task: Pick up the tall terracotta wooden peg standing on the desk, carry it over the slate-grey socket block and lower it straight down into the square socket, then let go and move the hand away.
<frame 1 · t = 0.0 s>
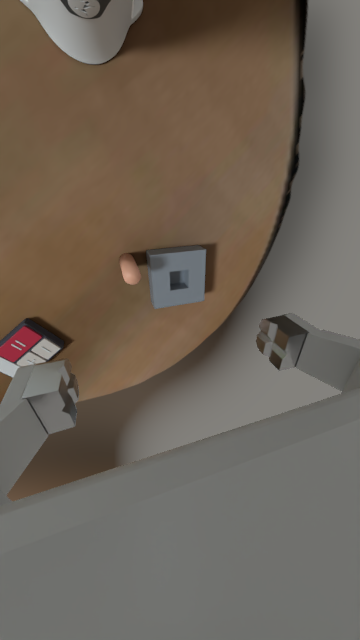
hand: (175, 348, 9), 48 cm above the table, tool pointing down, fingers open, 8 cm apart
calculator: (27, 346, 57), on the table
socket block: (174, 273, 59), on the table
peg: (126, 260, 53), on the table
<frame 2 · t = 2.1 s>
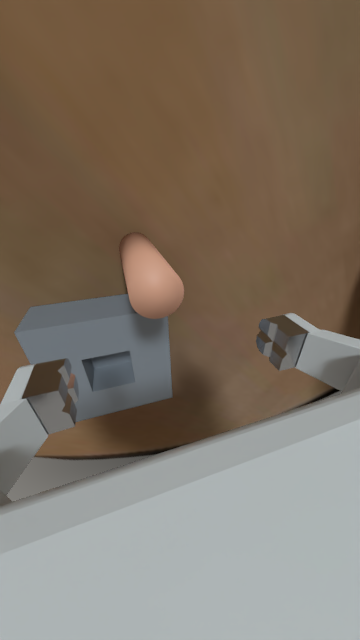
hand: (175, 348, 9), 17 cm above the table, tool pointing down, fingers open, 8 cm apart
socket block: (109, 345, 29), on the table
peg: (136, 249, 23), on the table
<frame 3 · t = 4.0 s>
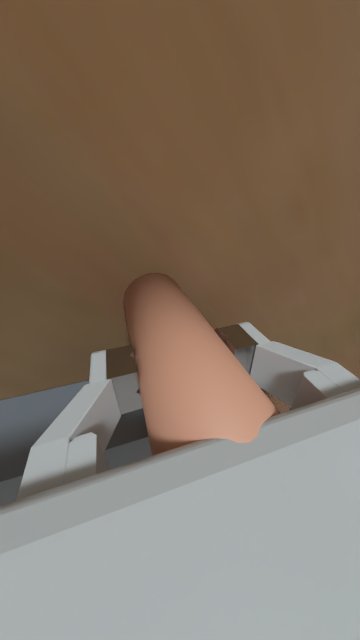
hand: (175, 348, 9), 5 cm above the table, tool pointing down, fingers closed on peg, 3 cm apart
socket block: (107, 440, 18), on the table
peg: (153, 301, 13), on the table, touching gripper
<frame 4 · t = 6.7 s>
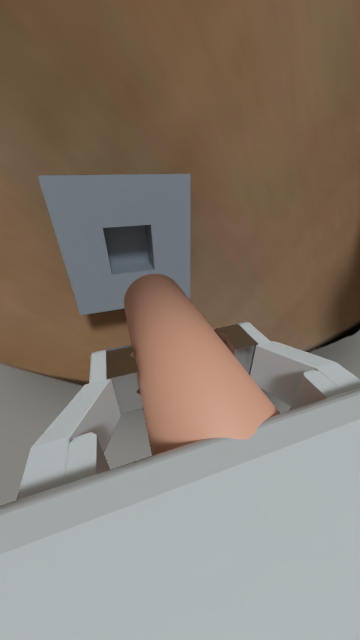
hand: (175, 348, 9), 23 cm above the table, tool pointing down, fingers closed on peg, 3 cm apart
socket block: (126, 241, 28), on the table
peg: (154, 302, 13), point 19 cm above the table, touching gripper
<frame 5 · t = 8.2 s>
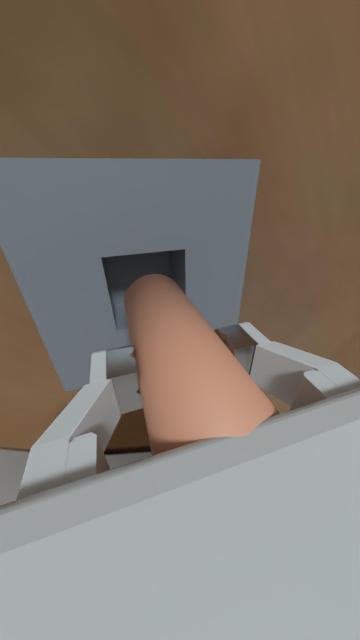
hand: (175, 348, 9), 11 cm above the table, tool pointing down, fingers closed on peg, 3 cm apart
socket block: (138, 268, 18), on the table
peg: (154, 302, 13), point 6 cm above the table, touching gripper
when the fingers open (7 cm above the table, at t = 9.4 s): peg stays where it is, resting on socket block.
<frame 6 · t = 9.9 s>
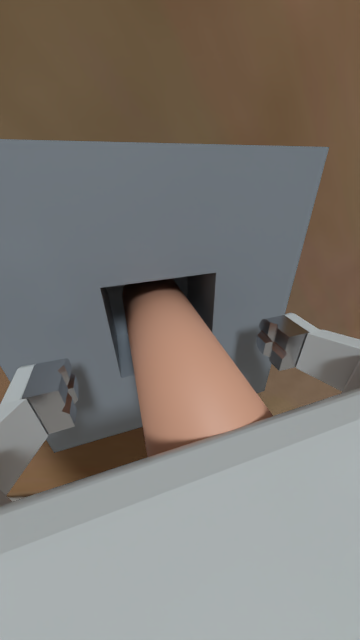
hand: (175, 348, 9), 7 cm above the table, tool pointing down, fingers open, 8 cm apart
socket block: (147, 289, 14), on the table
peg: (150, 295, 14), point 1 cm above the table, touching socket block
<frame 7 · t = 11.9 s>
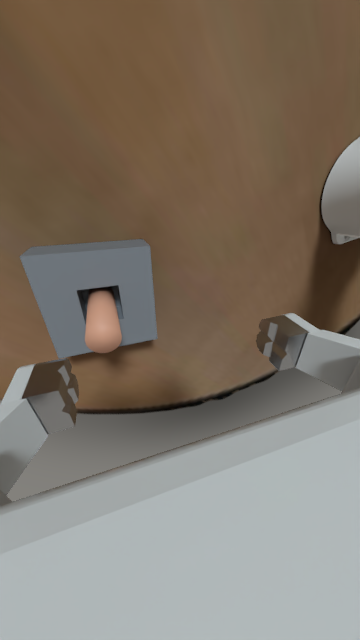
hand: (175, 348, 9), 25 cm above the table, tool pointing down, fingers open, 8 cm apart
socket block: (100, 291, 32), on the table
peg: (101, 294, 32), point 1 cm above the table, touching socket block
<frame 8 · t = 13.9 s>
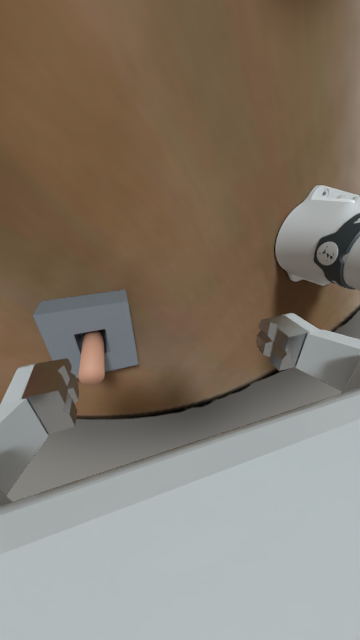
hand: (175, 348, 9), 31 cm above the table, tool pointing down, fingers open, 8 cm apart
socket block: (94, 328, 42), on the table
peg: (94, 331, 41), point 1 cm above the table, touching socket block
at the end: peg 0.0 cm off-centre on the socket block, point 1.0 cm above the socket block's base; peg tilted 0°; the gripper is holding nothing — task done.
